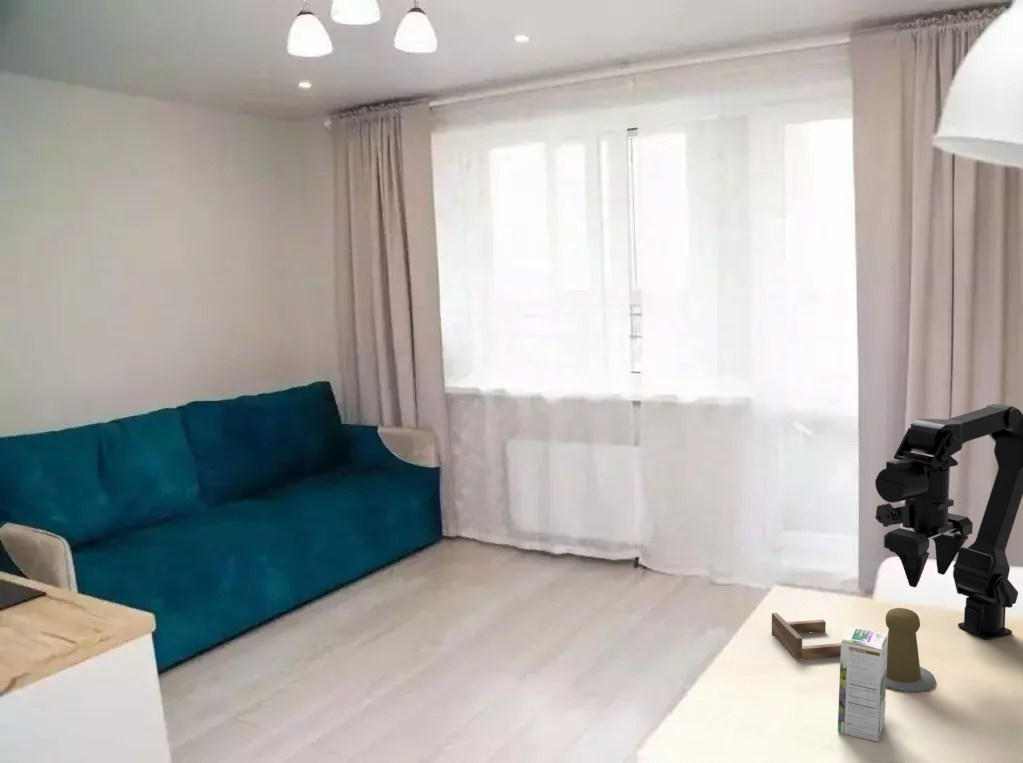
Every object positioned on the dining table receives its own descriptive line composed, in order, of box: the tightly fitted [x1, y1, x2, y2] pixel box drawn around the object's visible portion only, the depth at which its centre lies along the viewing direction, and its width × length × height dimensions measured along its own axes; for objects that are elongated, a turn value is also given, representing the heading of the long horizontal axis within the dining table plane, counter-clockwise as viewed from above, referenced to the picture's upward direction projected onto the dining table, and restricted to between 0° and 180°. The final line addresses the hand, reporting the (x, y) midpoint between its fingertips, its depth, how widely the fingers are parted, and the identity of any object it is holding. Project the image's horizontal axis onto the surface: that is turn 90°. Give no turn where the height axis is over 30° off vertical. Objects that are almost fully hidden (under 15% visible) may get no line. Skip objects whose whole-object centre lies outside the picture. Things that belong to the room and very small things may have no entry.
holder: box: [771, 612, 841, 661], centre depth 156 cm, size 10×11×4 cm
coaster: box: [886, 666, 936, 693], centre depth 143 cm, size 10×10×1 cm
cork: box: [884, 607, 921, 683], centre depth 143 cm, size 6×6×11 cm
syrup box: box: [837, 627, 888, 742], centre depth 127 cm, size 6×6×14 cm
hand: (927, 580), depth 151 cm, fingers open, 9 cm apart
